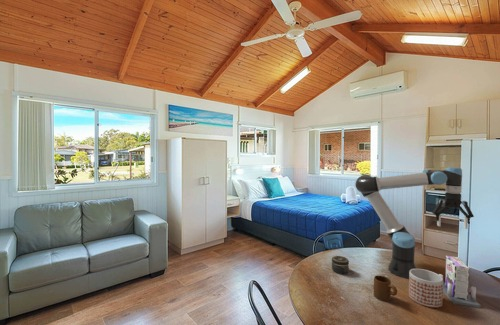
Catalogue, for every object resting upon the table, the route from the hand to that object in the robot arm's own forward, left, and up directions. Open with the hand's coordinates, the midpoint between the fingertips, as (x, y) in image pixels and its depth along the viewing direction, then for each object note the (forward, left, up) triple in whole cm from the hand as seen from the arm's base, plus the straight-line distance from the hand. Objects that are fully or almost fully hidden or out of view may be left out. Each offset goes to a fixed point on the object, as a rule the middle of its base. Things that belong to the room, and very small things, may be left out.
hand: (451, 227), depth 149 cm
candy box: (-9, -27, -28) cm, 39 cm away
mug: (-45, -43, -29) cm, 69 cm away
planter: (-26, -37, -29) cm, 54 cm away
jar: (-65, -18, -29) cm, 73 cm away
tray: (-9, -27, -29) cm, 40 cm away
